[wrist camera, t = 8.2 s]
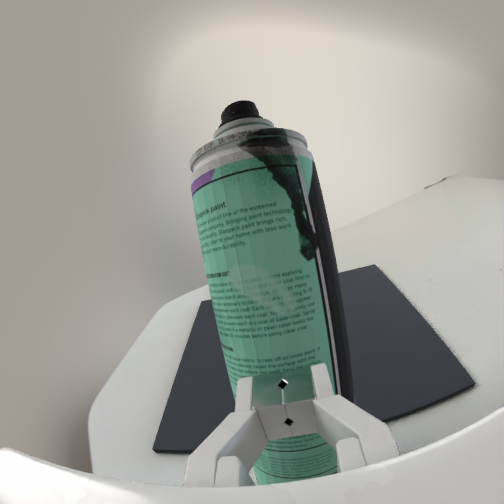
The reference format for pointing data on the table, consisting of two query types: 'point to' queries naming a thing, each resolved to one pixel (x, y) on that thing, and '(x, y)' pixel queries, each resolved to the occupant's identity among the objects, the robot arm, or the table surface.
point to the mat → (362, 361)
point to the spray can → (271, 270)
